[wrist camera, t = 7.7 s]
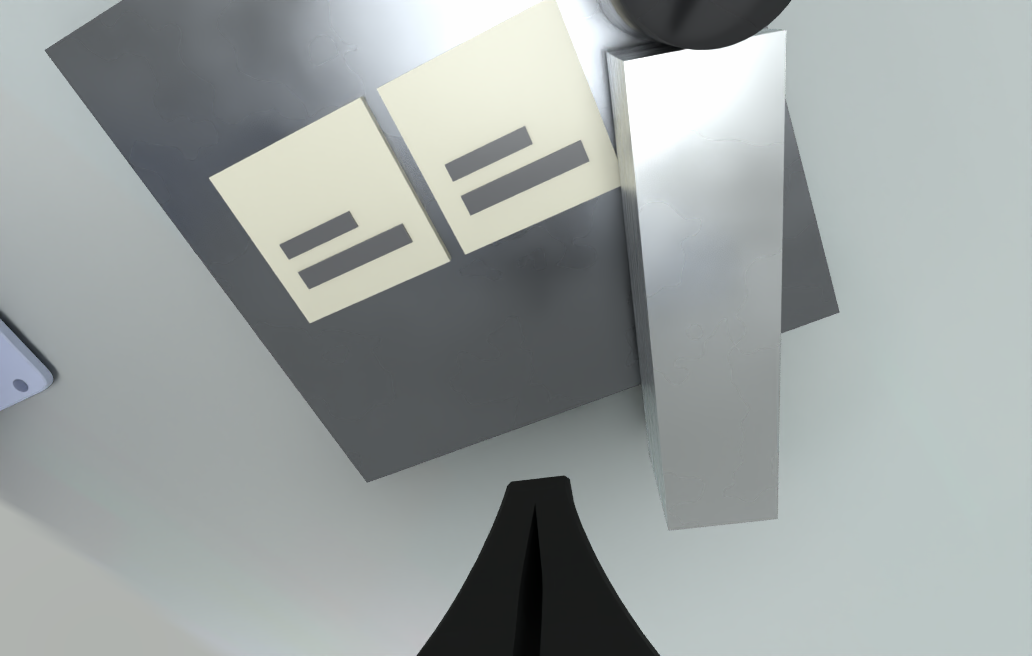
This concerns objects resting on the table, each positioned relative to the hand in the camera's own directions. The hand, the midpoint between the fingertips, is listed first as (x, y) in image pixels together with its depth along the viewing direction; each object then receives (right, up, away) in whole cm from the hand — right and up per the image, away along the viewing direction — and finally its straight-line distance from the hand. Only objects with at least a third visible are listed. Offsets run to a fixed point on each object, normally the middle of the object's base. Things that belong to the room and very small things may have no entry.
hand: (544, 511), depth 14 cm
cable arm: (+4, +7, +3) cm, 9 cm away
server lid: (-2, +8, +4) cm, 10 cm away
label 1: (-6, +8, +4) cm, 11 cm away
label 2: (-1, +10, +3) cm, 10 cm away
